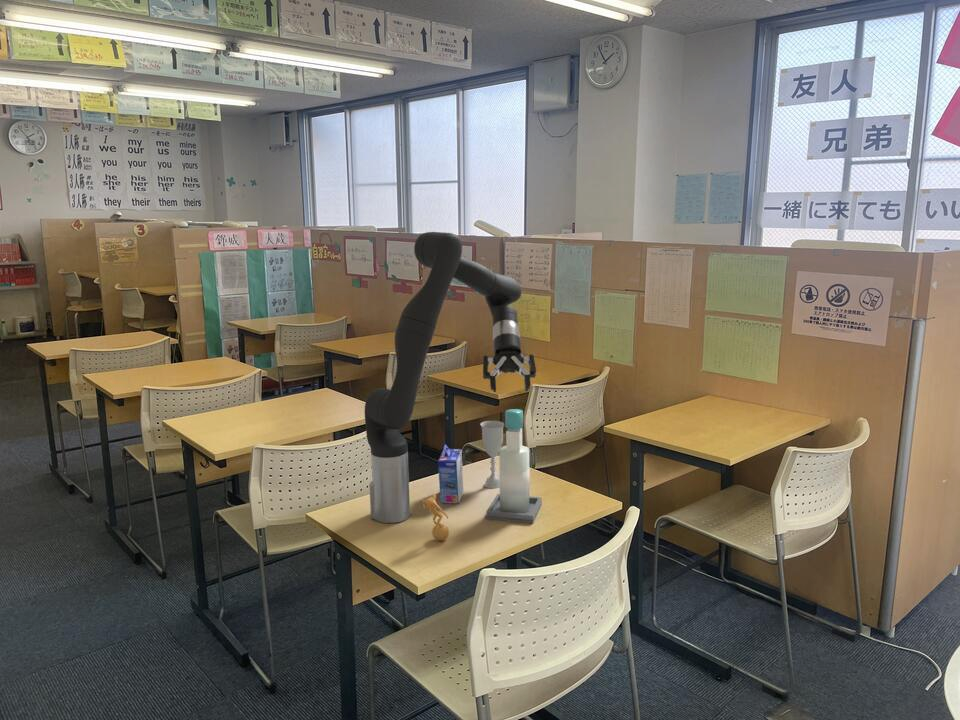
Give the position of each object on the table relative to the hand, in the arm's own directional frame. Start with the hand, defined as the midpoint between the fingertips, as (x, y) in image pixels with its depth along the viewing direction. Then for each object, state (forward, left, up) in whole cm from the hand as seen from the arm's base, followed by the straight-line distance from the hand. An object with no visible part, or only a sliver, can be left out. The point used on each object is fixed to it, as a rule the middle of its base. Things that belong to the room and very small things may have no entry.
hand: (510, 390), depth 185 cm
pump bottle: (+3, -10, -30) cm, 32 cm away
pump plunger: (+3, -10, -13) cm, 16 cm away
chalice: (-7, +7, -30) cm, 32 cm away
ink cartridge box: (-16, -4, -30) cm, 34 cm away
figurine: (-11, -31, -30) cm, 44 cm away
